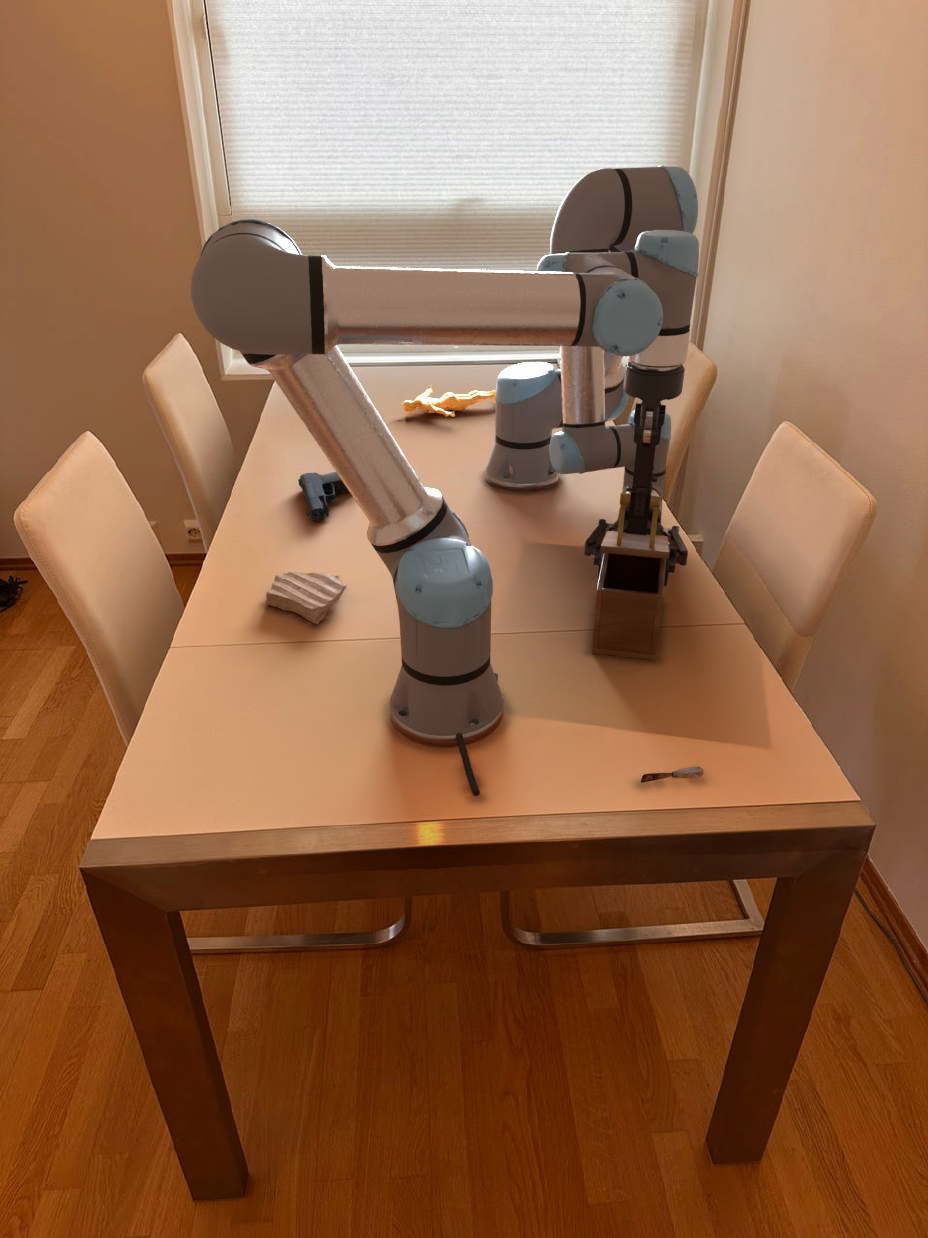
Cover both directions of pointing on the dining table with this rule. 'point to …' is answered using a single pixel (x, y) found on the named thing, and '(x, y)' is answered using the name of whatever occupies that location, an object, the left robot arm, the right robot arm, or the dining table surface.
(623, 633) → the chest
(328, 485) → the handgun
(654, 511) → the lid
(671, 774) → the putty knife
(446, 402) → the human figure
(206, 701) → the dining table surface
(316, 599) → the stone
